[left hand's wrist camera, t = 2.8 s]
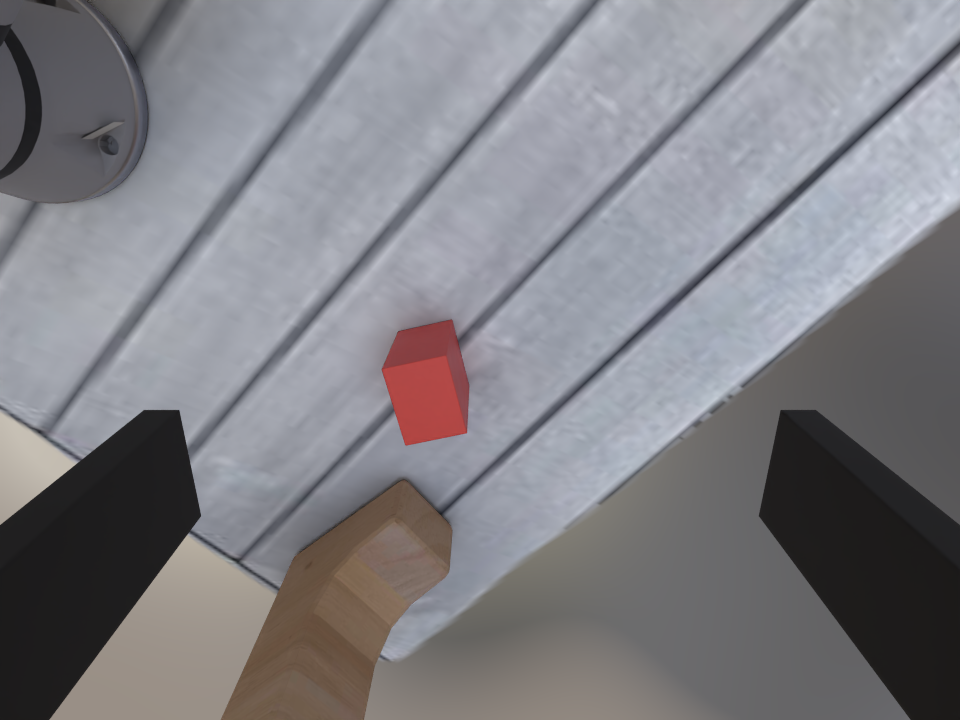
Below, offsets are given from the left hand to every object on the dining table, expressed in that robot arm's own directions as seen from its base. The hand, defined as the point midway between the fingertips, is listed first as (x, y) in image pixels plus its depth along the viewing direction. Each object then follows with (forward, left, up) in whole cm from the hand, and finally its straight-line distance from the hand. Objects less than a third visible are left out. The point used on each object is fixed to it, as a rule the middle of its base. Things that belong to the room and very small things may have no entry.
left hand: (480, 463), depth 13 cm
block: (-6, -10, -36) cm, 37 cm away
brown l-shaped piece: (-17, -27, -36) cm, 48 cm away
